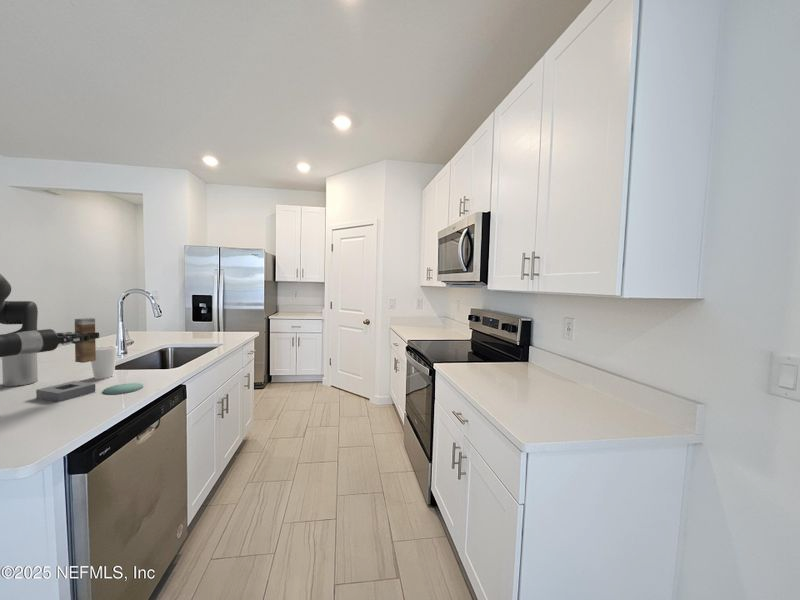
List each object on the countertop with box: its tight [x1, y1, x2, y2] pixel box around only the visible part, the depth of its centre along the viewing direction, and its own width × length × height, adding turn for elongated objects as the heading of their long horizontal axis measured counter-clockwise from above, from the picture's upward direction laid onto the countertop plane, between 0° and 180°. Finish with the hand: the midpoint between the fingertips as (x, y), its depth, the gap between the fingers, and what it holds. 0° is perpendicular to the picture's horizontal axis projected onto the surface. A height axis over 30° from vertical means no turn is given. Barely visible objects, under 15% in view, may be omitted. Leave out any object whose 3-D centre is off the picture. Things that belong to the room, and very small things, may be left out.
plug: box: [74, 317, 97, 364], centre depth 122 cm, size 4×4×16 cm
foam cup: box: [90, 345, 119, 380], centre depth 143 cm, size 10×9×13 cm
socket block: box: [35, 380, 96, 403], centre depth 121 cm, size 11×11×3 cm
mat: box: [102, 382, 144, 395], centre depth 128 cm, size 12×12×1 cm
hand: (93, 334), depth 124 cm, fingers closed on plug, 4 cm apart
